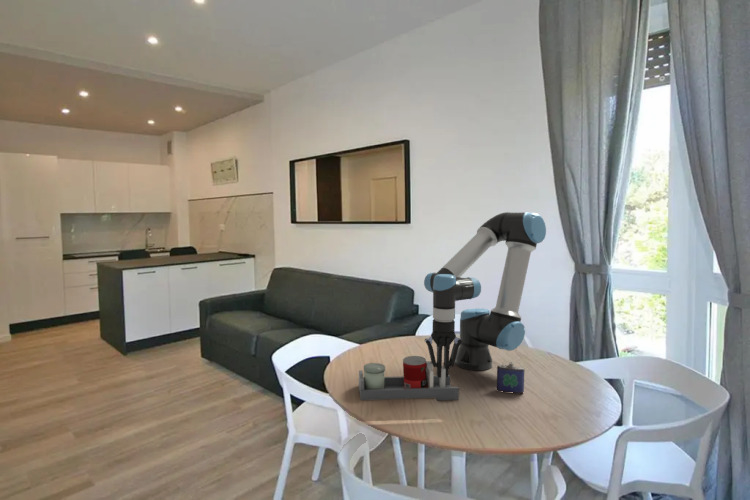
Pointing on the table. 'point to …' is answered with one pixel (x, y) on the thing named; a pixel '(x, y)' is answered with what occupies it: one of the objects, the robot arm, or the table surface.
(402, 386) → the lane
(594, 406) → the table surface
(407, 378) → the canned food
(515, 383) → the flask
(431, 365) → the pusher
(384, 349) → the table surface
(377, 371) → the green jar
